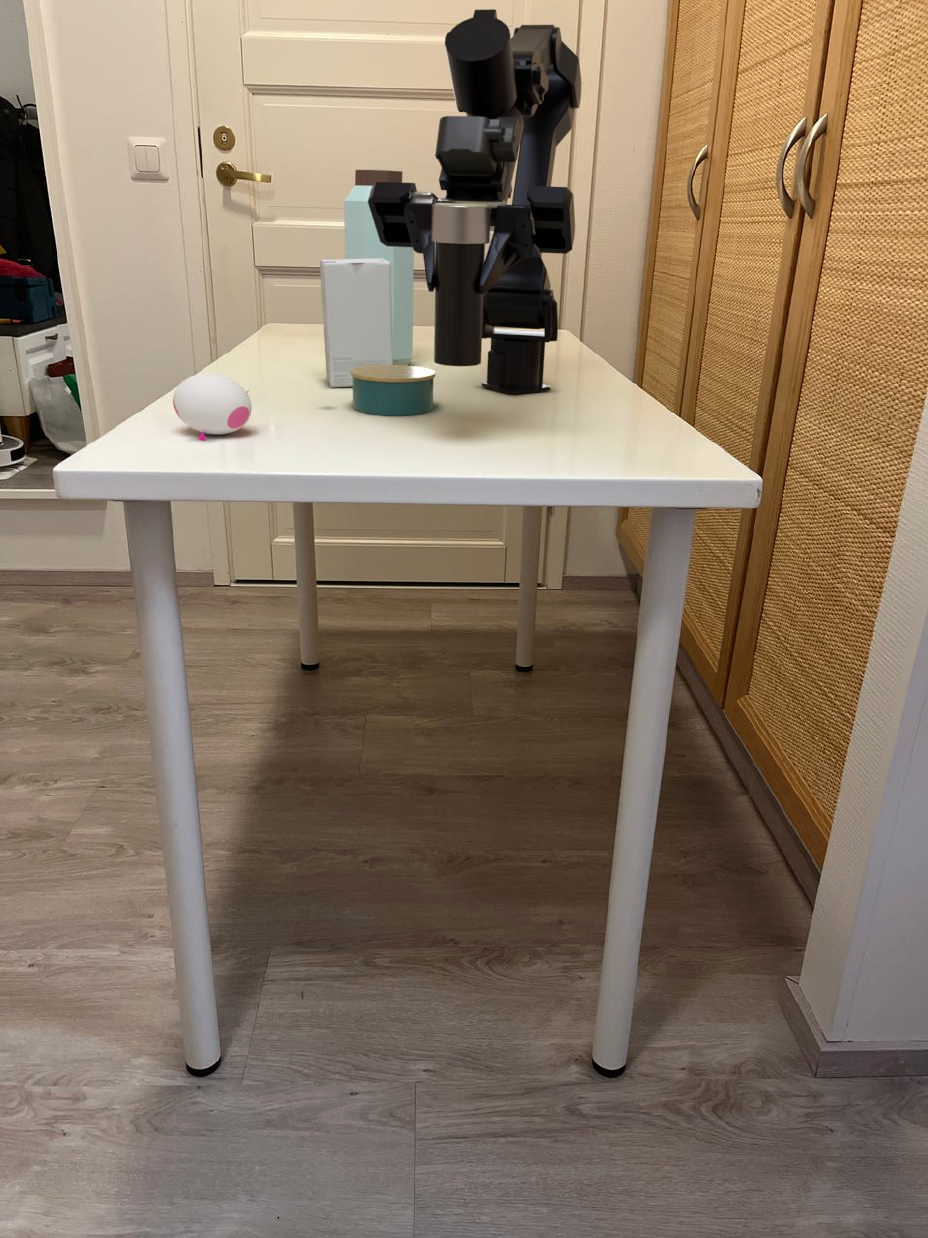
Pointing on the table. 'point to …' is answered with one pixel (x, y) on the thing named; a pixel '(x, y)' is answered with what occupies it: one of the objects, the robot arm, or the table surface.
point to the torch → (459, 281)
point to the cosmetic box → (355, 316)
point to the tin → (392, 389)
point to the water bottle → (367, 245)
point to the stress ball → (212, 404)
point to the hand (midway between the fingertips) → (455, 289)
